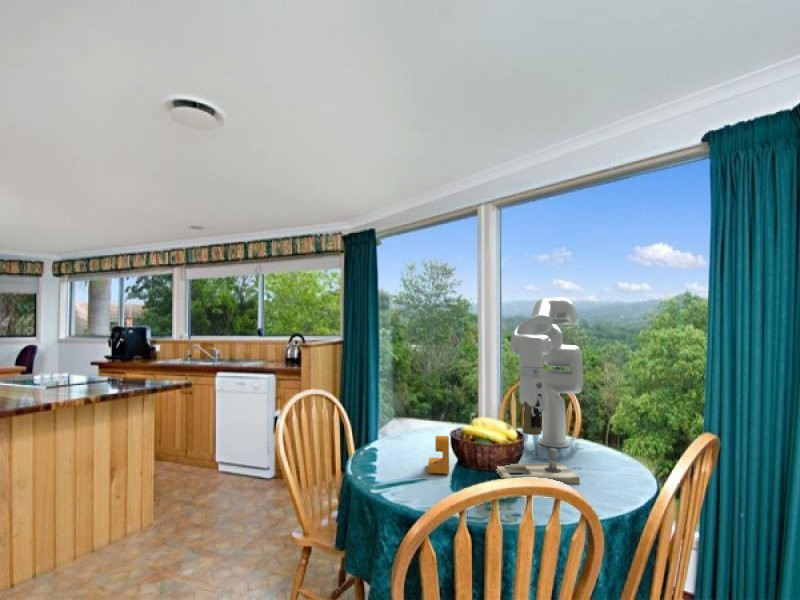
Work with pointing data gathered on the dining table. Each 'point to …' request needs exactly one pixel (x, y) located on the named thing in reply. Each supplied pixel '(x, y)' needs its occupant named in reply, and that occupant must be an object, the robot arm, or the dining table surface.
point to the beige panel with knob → (541, 470)
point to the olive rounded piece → (529, 421)
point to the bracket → (440, 463)
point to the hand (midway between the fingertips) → (531, 425)
